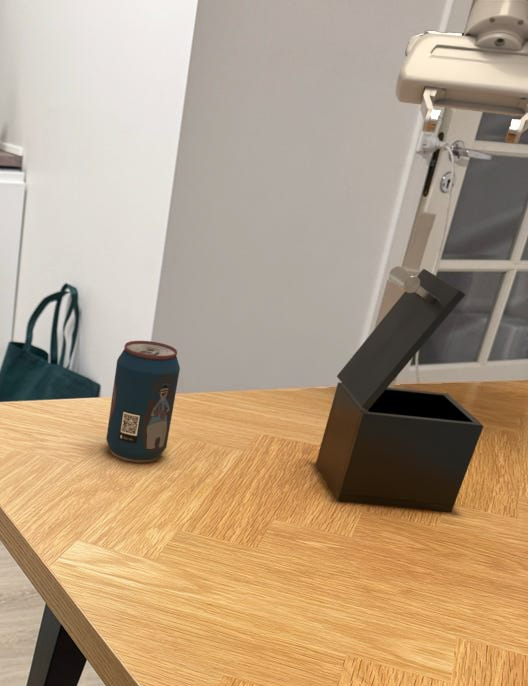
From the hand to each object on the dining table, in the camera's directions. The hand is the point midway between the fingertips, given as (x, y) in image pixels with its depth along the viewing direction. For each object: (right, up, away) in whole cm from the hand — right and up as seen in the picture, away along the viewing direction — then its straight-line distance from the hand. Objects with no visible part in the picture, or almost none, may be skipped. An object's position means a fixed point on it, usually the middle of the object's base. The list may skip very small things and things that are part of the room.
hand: (470, 133), depth 105 cm
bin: (-12, -42, -4) cm, 44 cm away
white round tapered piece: (-3, -26, +23) cm, 35 cm away
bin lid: (-13, -29, -13) cm, 34 cm away
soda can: (-40, -38, -2) cm, 55 cm away
